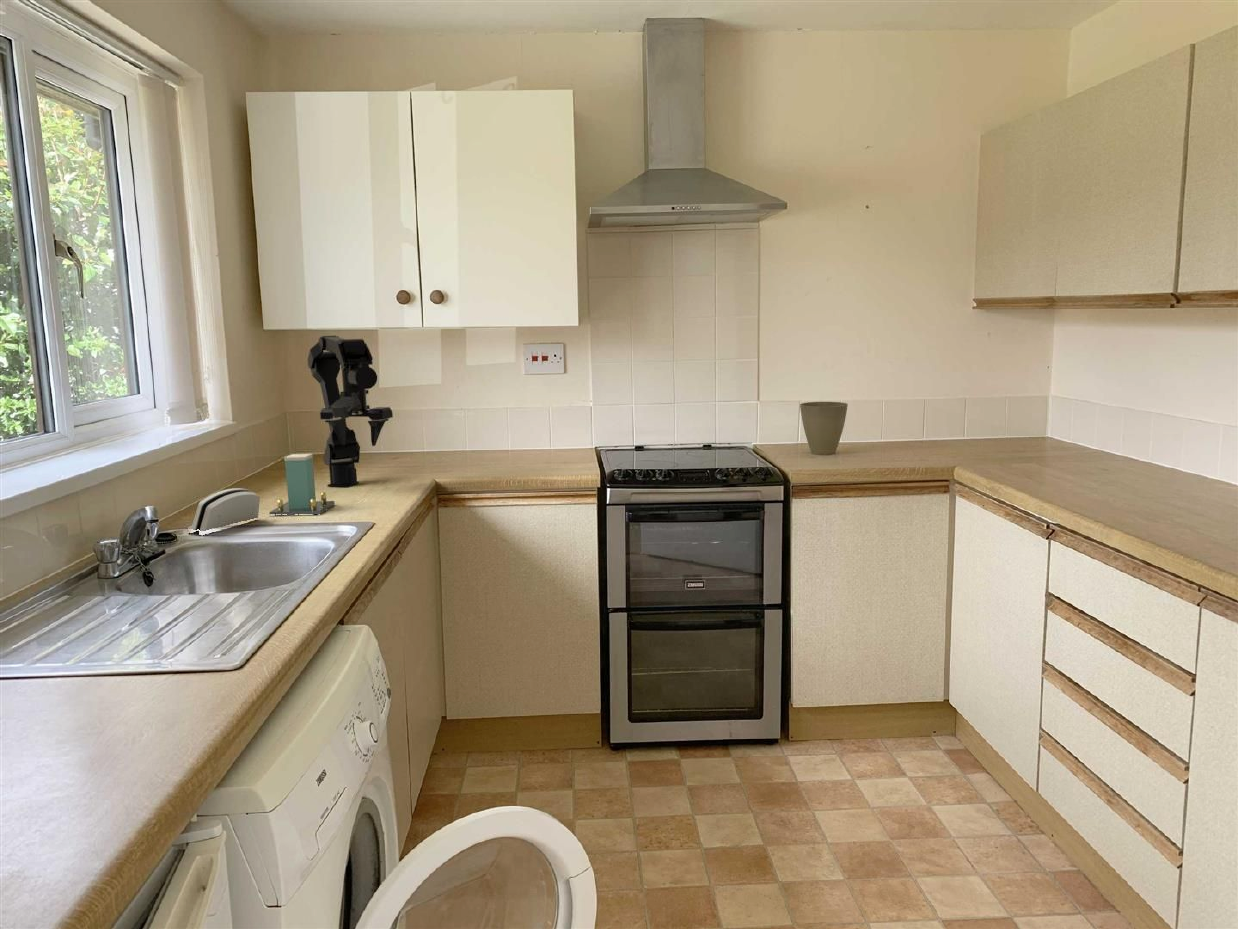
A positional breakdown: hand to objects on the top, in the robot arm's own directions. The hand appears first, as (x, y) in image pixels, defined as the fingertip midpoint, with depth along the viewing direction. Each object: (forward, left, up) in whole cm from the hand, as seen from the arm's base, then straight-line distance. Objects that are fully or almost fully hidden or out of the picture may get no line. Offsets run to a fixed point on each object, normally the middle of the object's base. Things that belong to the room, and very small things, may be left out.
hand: (358, 445), depth 245 cm
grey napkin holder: (-10, -41, -13) cm, 45 cm away
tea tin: (-3, -22, -12) cm, 25 cm away
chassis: (-3, -22, -13) cm, 26 cm away
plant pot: (+116, +85, -13) cm, 144 cm away
